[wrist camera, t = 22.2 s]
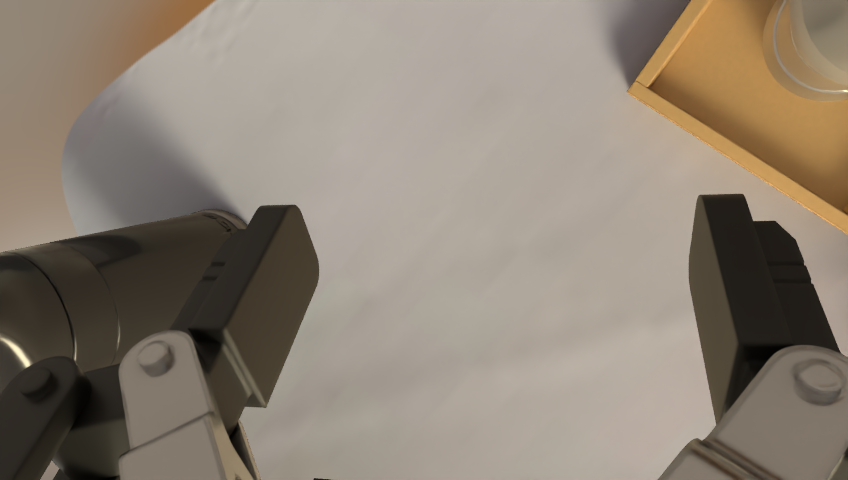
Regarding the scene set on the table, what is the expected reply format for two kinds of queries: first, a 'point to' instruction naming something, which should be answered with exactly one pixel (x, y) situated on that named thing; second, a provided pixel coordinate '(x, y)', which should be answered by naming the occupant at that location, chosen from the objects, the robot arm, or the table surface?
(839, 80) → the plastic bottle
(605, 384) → the table surface
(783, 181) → the tray
